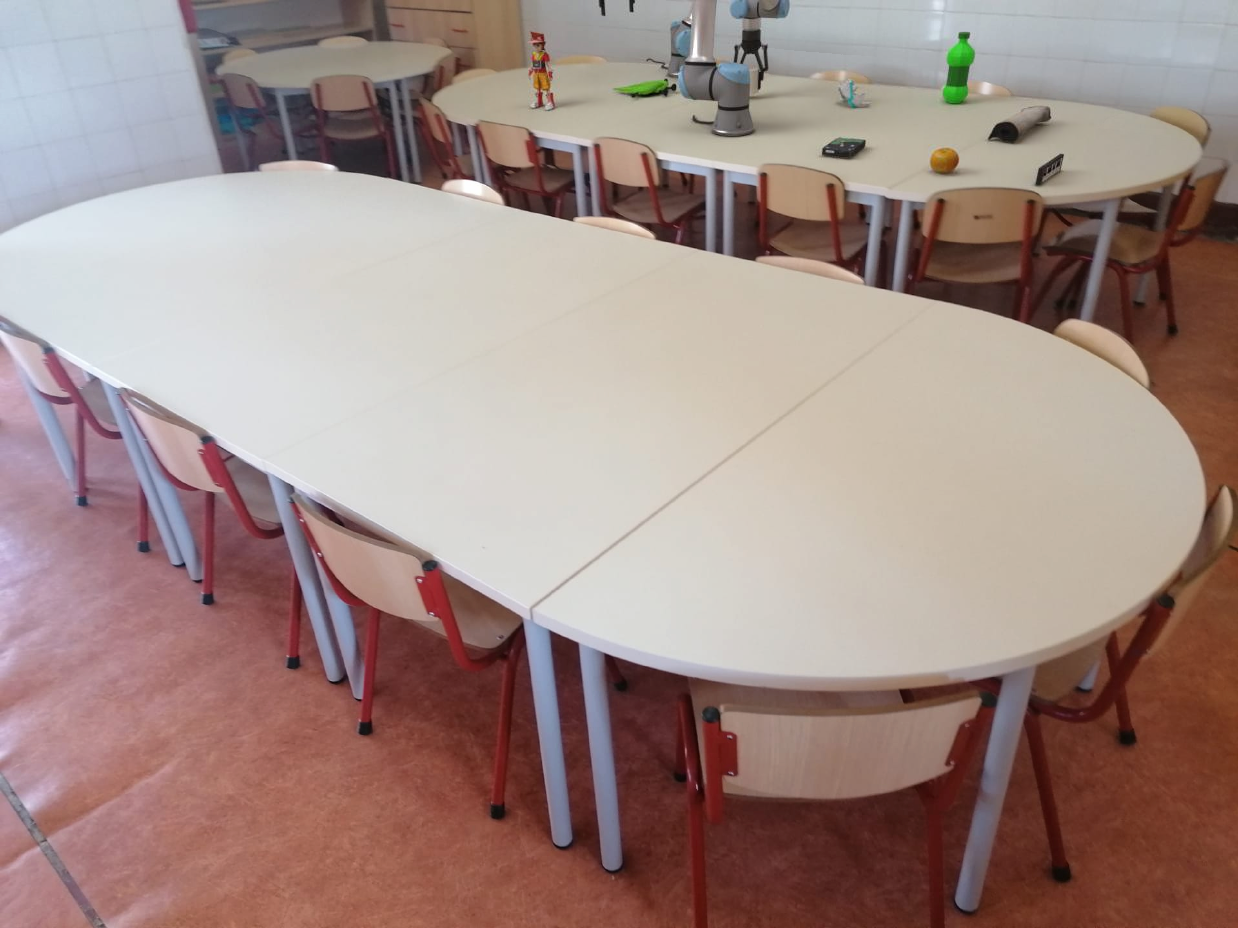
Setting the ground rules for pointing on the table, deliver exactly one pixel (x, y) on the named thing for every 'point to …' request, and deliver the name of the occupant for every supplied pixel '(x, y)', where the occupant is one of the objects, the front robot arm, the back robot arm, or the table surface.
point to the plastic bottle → (958, 69)
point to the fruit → (944, 160)
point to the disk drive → (843, 147)
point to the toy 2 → (648, 88)
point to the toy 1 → (541, 71)
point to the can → (754, 79)
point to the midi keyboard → (1049, 169)
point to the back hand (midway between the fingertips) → (617, 14)
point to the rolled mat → (1020, 123)
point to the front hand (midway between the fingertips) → (749, 89)
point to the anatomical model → (851, 94)
